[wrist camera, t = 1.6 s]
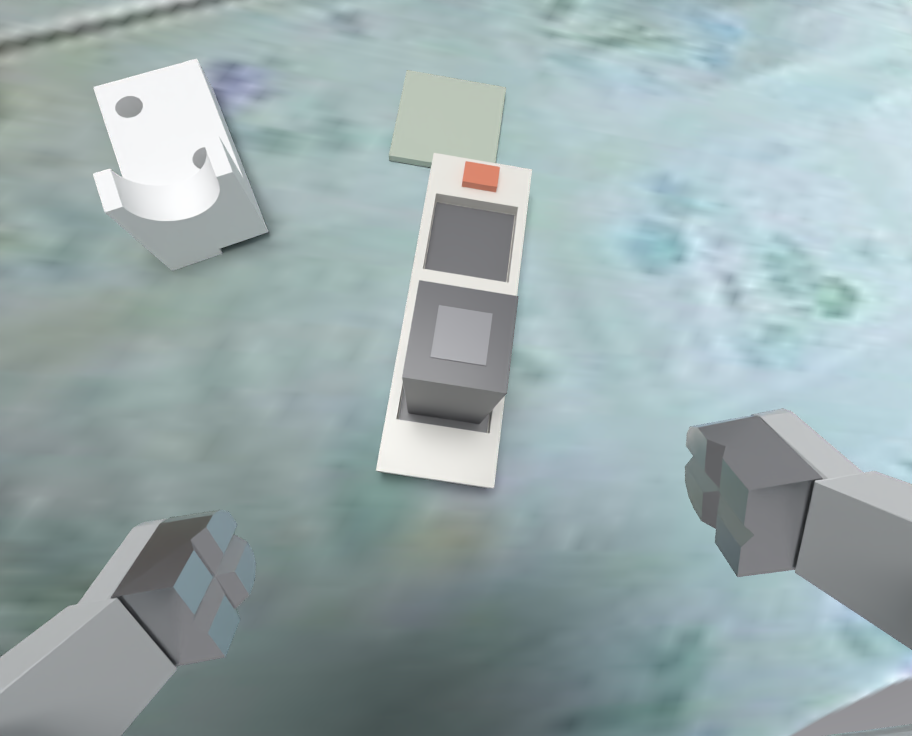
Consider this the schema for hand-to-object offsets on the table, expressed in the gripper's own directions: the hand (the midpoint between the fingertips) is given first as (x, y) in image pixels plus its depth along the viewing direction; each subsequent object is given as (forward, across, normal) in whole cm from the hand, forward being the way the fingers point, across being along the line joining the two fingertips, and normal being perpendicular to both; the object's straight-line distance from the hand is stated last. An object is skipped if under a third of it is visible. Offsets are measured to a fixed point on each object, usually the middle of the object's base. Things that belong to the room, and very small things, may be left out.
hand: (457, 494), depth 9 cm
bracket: (+32, +18, -4) cm, 37 cm away
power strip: (+25, 0, +7) cm, 26 cm away
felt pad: (+36, -2, -4) cm, 36 cm away
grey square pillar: (+20, +2, +9) cm, 22 cm away
